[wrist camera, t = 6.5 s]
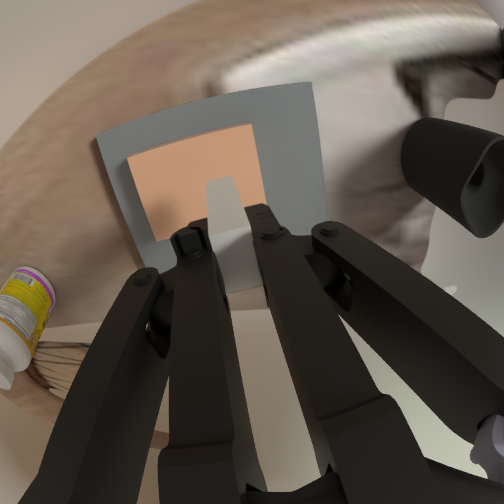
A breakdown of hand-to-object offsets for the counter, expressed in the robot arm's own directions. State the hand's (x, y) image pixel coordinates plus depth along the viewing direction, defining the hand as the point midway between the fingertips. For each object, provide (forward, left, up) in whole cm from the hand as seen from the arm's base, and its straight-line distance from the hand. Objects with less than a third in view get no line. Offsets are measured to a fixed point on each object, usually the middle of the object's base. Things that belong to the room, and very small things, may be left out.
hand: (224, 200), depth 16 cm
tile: (-3, 0, -5) cm, 6 cm away
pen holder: (-22, +2, -8) cm, 23 cm away
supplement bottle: (+24, +6, -7) cm, 26 cm away
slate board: (0, +2, -7) cm, 8 cm away
